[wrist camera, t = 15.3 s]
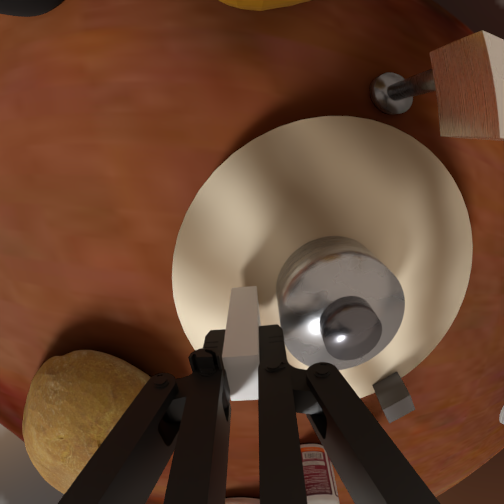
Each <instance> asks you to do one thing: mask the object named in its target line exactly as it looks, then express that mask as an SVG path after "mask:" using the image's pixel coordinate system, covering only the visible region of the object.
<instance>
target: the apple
mask: <svg viewBox="0 0 504 504" xmlns="http://www.w3.org/2000/svg"><path fill="white" fill-rule="evenodd" d="M219 1H220V2H222V3H224V4H226V5H228V6H232V7H236V8H239V9H245V10H256V11H264V10H269V9H275V8H280V7H287V6H292V5H296V4H300V3H304V2H308V1H311V0H219Z"/></svg>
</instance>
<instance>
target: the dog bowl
mask: <svg viewBox="0 0 504 504" xmlns="http://www.w3.org/2000/svg"><path fill="white" fill-rule="evenodd" d="M499 420H500V422H501V423H502V424H504V406H503V408H502V410H501V413H500V417H499Z"/></svg>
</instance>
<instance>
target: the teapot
mask: <svg viewBox="0 0 504 504" xmlns="http://www.w3.org/2000/svg"><path fill="white" fill-rule="evenodd" d="M225 504H260V499H256V498H246V497H235V498H225Z"/></svg>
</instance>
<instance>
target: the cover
mask: <svg viewBox="0 0 504 504" xmlns="http://www.w3.org/2000/svg"><path fill="white" fill-rule="evenodd" d="M276 297H277V304H278V312H279V319H280V326H281V328H282V329H283V336H284V342H285V345H286V347H287V349H288V350H289V352H290V353H291V354H292V355H293V356H294V357H295V358H296V359H297V360H299V361H300V362H301V363H303V364H305V365H307V366H311V365H313V364H315V363H319V362H327V363H330V364H333V365H334V366H335V367H337V369H338V370H343V369H348V368H352V367H355V366H358V365H360V364H362V363H365V362H366V361H368V360H370V359H372V358H373V357H375V356H376V355H377V354H379V353H380V352H381V351H382V350H383V349H384V348H385V347H386V346H387V345H388V344H389V343H390V342H391V341H392V339H393V338H394V336H395V335H396V333H397V331H398V329H399V327H400V325H401V322H402V320H403V316H404V310H405V298H404V292H403V289H402V287H401V284H400V282H399V281H398V279H397V278H396V276H395V275H394V274H393V273H392V272H391V271H390V270H389V269H388V268H387V267H386V266H385V265H384V264H383V263H382V262H381V261H380V260H379V259H378V258H377V257H376V256H375V255H374V254H373V253H372V252H371V251H369V250H368V249H367V248H366V247H365V246H364V245H363V244H361V243H359V242H358V241H356V240H353V239H351V238H347V237H343V236H326V237H321V238H317V239H314V240H312V241H310V242H308V243H306V244H304V245H302V246H301V247H300V248H298V249H297V250H296V251H295V252H293V253H292V254H291V255H290V257H289V258H288V259H287V260H286V262H285V263H284V265H283V266H282V268H281V271H280V273H279V276H278V279H277V284H276Z"/></svg>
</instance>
